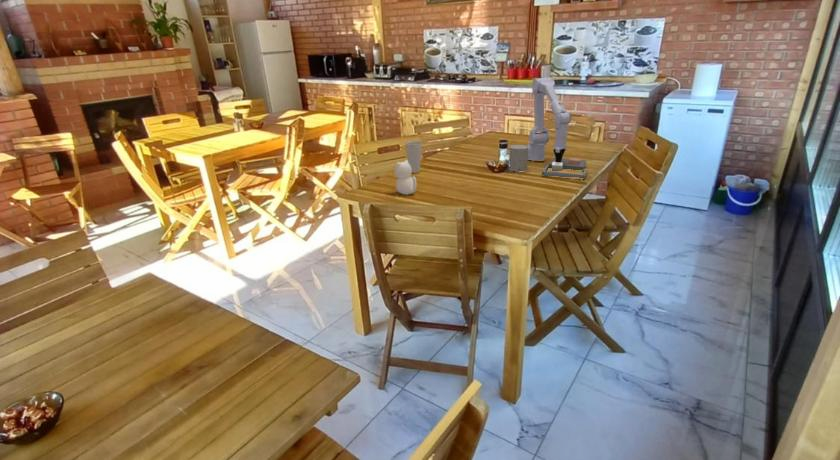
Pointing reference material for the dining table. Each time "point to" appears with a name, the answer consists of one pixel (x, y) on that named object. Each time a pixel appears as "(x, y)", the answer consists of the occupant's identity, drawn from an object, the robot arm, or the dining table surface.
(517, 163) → the grey canister
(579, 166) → the plate
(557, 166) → the cream tile
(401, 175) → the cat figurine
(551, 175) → the tray
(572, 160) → the terracotta tile
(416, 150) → the cup
